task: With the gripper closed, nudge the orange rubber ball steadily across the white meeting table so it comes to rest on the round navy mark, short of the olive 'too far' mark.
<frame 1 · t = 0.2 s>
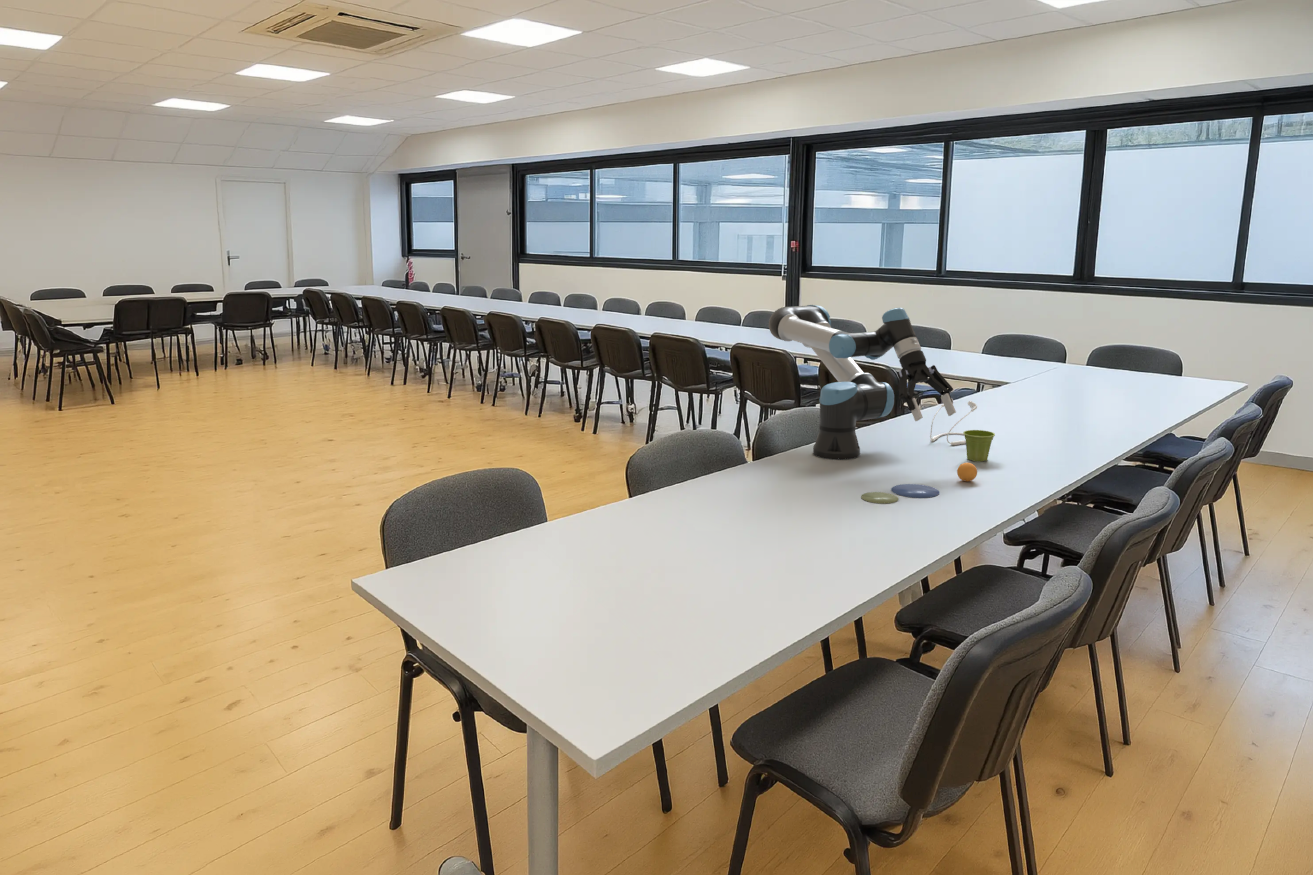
hand: (936, 417, 258), 16 cm above the table, tool tilted 35°, fingers open, 13 cm apart
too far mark: (879, 498, 234), on the table
earphone: (953, 440, 299), on the table
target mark: (915, 491, 240), on the table
ball: (967, 472, 248), on the table
plant pot: (977, 460, 272), on the table
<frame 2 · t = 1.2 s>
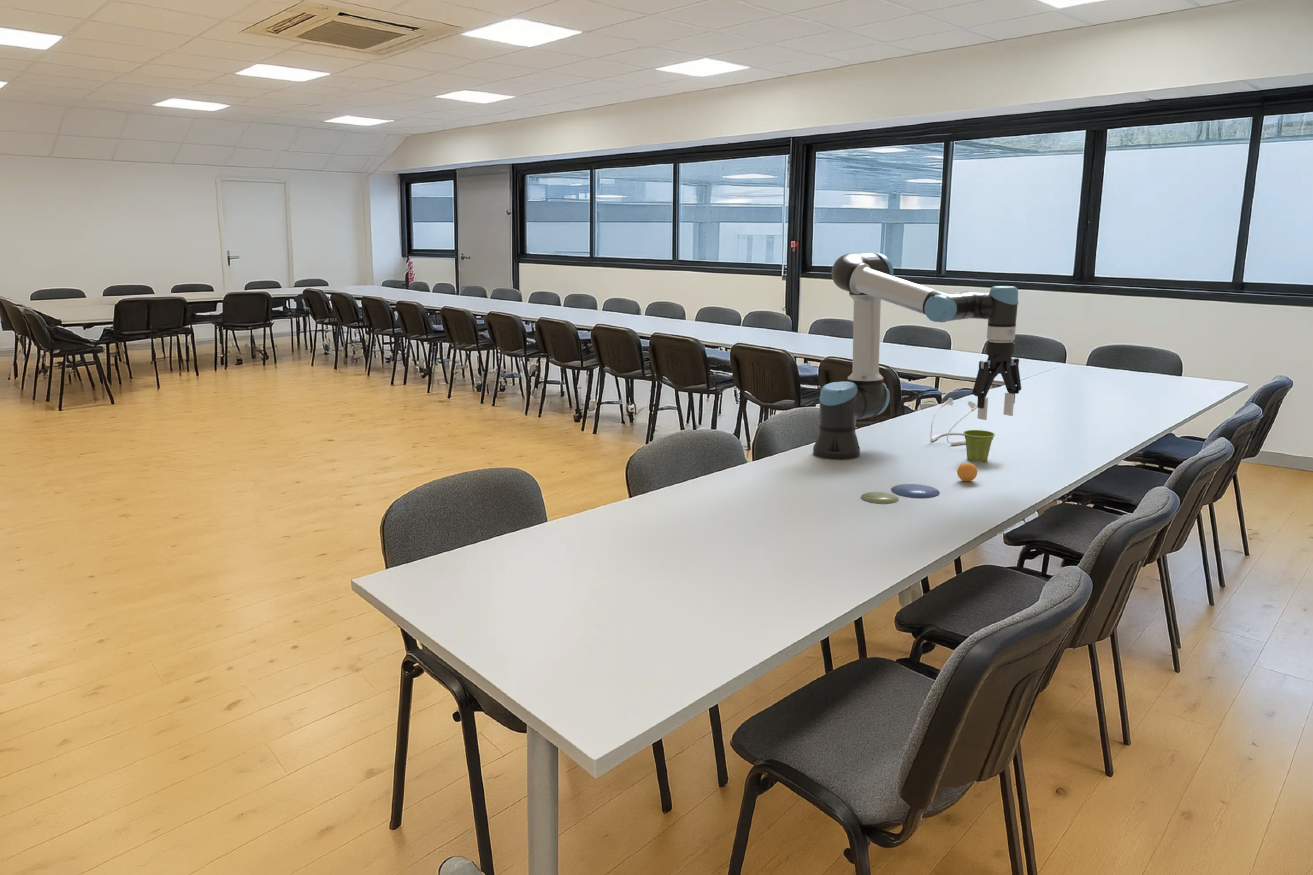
hand: (995, 417, 249), 18 cm above the table, tool pointing down, fingers open, 10 cm apart
nothing on the table moved.
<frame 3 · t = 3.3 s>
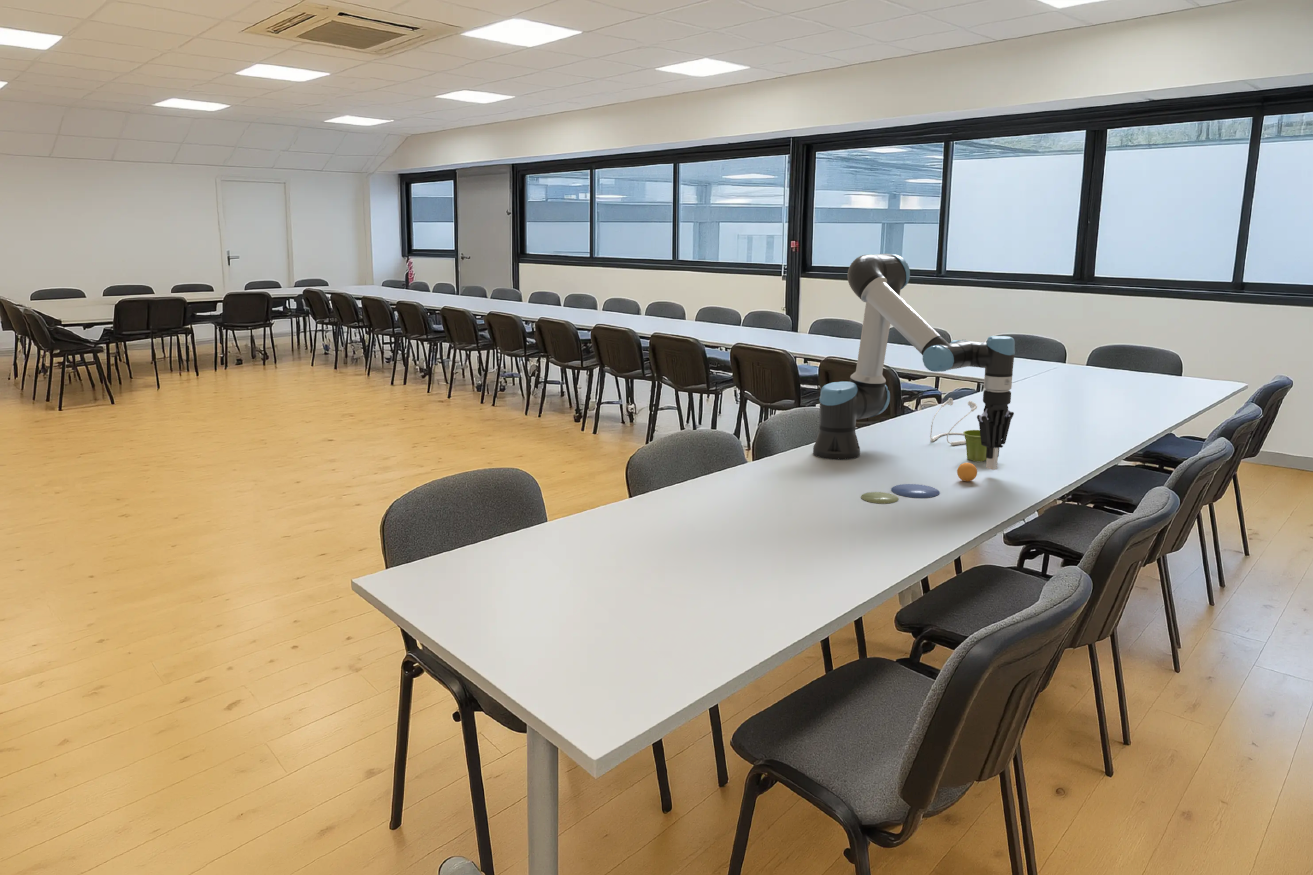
hand: (991, 468, 253), 2 cm above the table, tool pointing down, fingers closed
nothing on the table moved.
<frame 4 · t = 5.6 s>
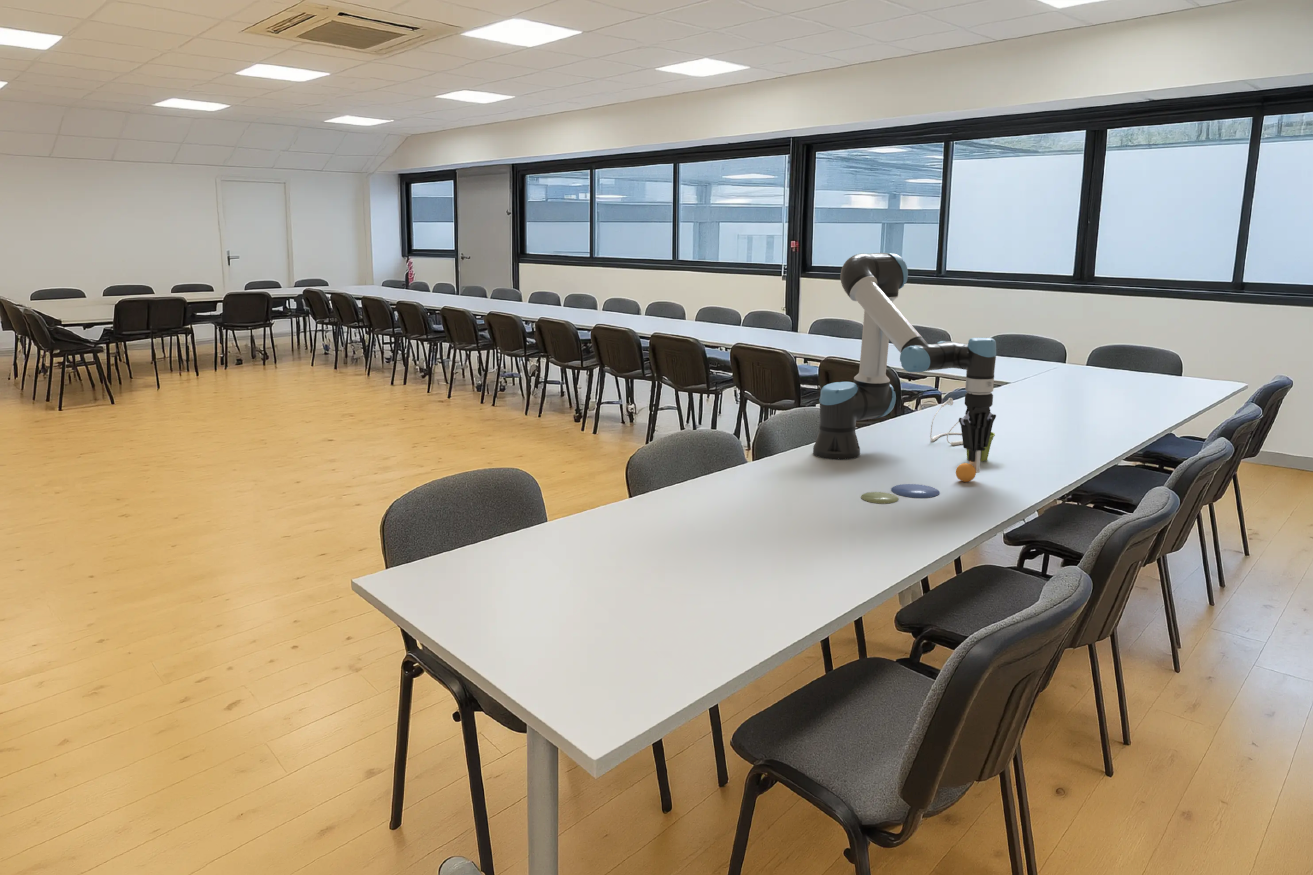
hand: (974, 471, 249), 2 cm above the table, tool pointing down, fingers closed
ball: (965, 472, 248), on the table, touching gripper
everything else where it was.
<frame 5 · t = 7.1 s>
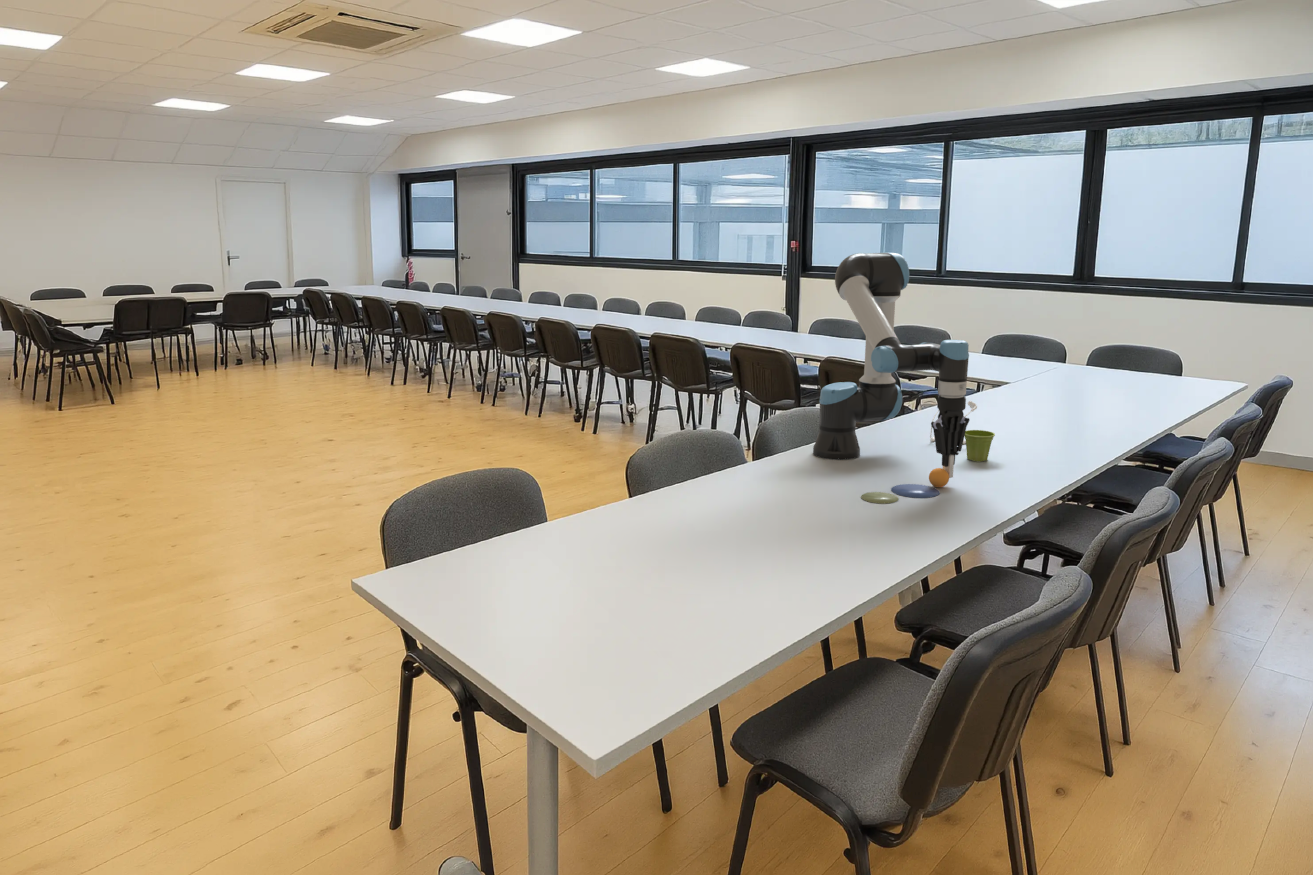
hand: (947, 476, 244), 3 cm above the table, tool pointing down, fingers closed
ball: (938, 477, 243), on the table, touching gripper
everything else where it was.
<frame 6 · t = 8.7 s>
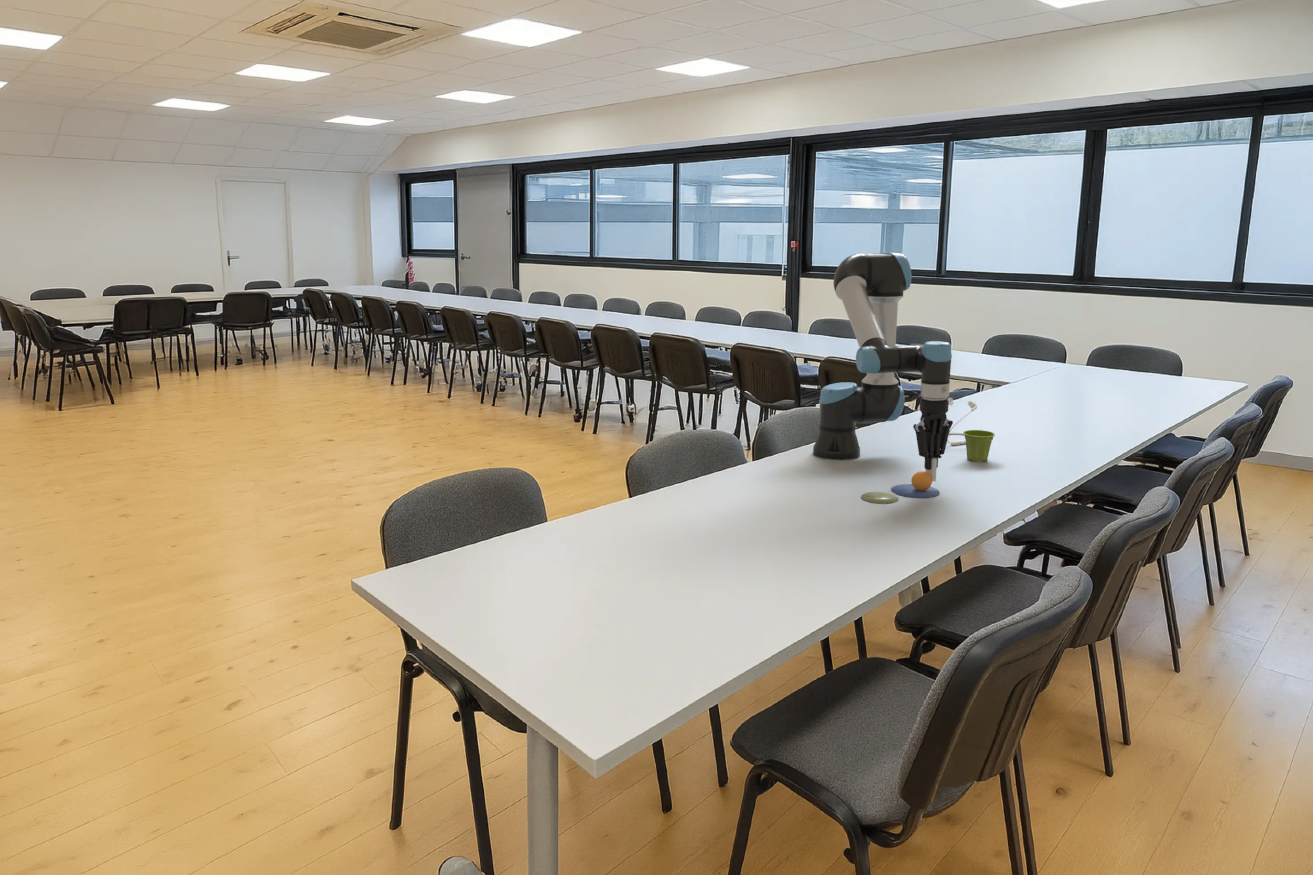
hand: (930, 479, 241), 3 cm above the table, tool pointing down, fingers closed
ball: (921, 481, 240), on the table, touching gripper
everything else where it was.
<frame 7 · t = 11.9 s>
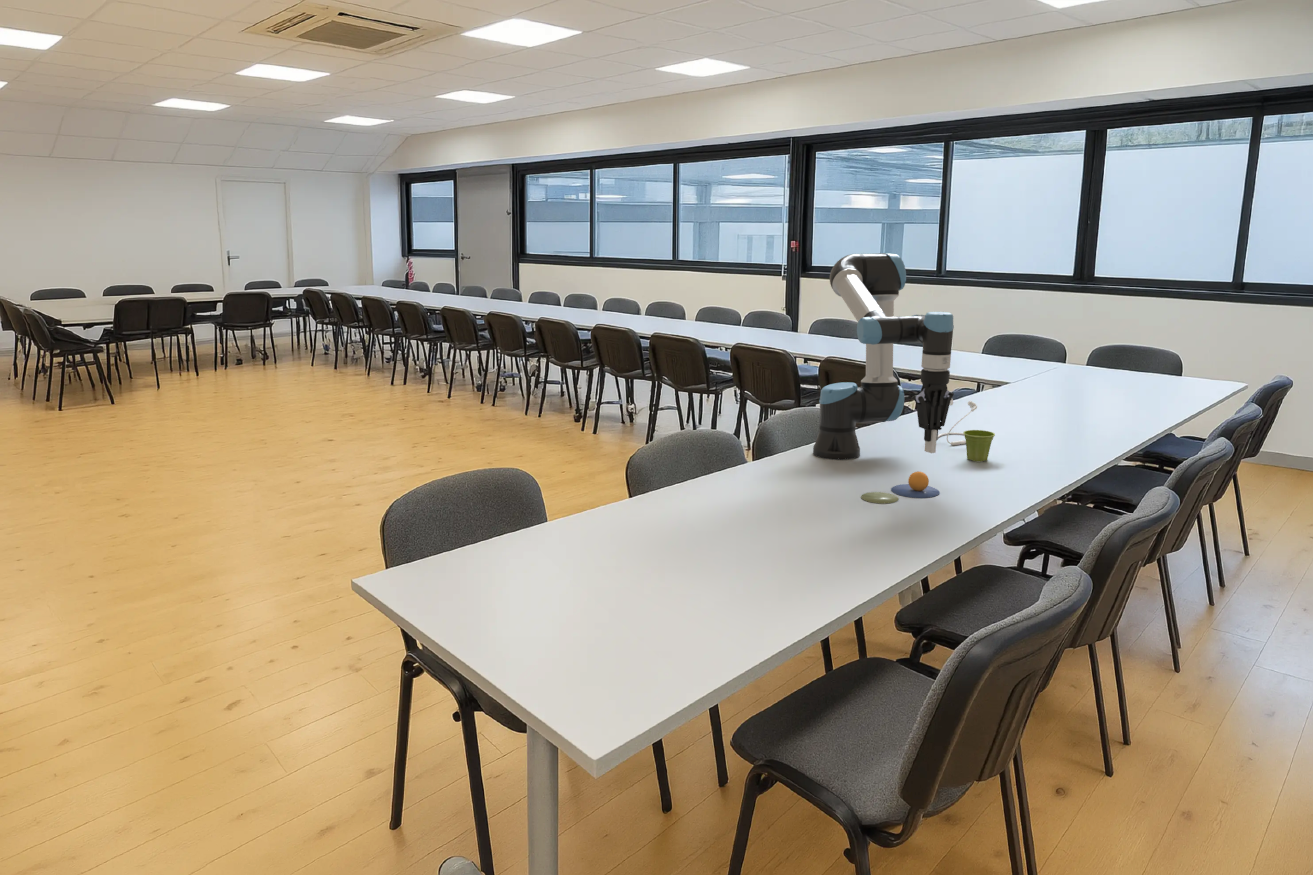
hand: (929, 451, 240), 11 cm above the table, tool pointing down, fingers closed
ball: (918, 481, 239), on the table
everything else where it was.
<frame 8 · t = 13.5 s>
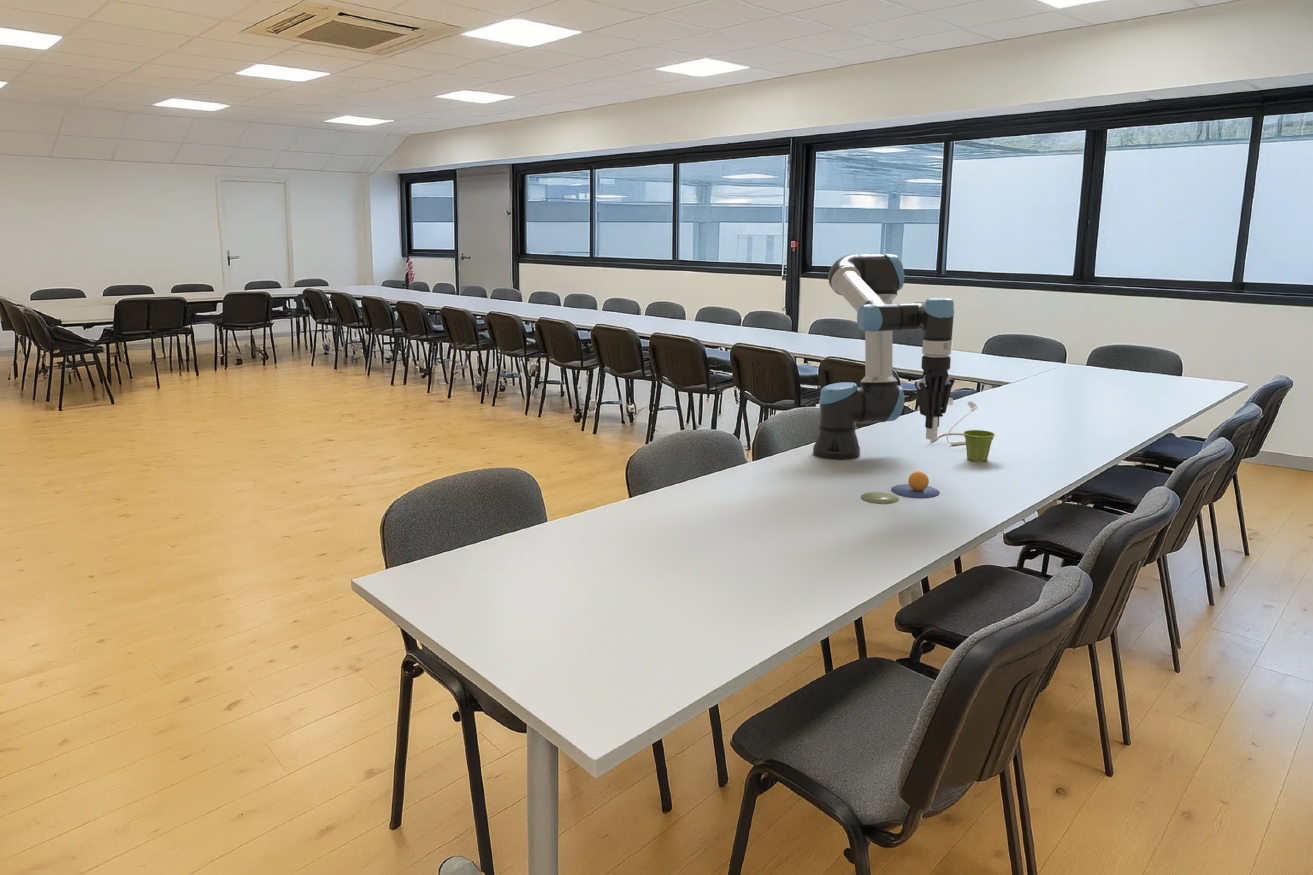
hand: (931, 439, 239), 14 cm above the table, tool pointing down, fingers closed
nothing on the table moved.
at the end: ball 1.0 cm from the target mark (horizontally); ball at rest at the end (0.0 cm/s); ball moved 19.0 cm from its start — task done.
